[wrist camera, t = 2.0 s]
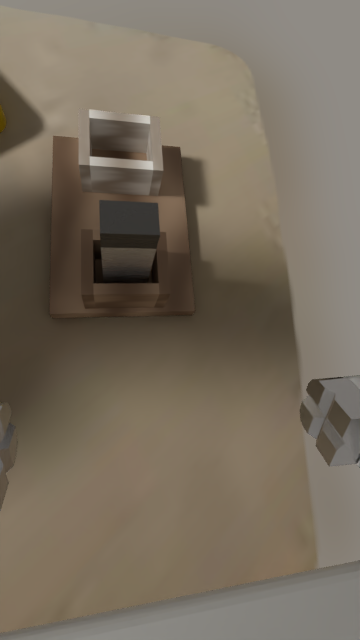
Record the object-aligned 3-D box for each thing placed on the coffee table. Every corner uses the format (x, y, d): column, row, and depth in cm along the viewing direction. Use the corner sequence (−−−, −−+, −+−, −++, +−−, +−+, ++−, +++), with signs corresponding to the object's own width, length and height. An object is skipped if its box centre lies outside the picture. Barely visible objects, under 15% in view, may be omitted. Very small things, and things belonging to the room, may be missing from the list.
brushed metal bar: (104, 290, 32) (99, 233, 21) (103, 267, 32) (99, 199, 22) (145, 290, 32) (160, 235, 22) (143, 267, 33) (158, 202, 23)
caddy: (52, 318, 31) (40, 300, 26) (55, 146, 36) (46, 102, 31) (191, 315, 34) (205, 298, 29) (177, 156, 39) (187, 118, 34)
